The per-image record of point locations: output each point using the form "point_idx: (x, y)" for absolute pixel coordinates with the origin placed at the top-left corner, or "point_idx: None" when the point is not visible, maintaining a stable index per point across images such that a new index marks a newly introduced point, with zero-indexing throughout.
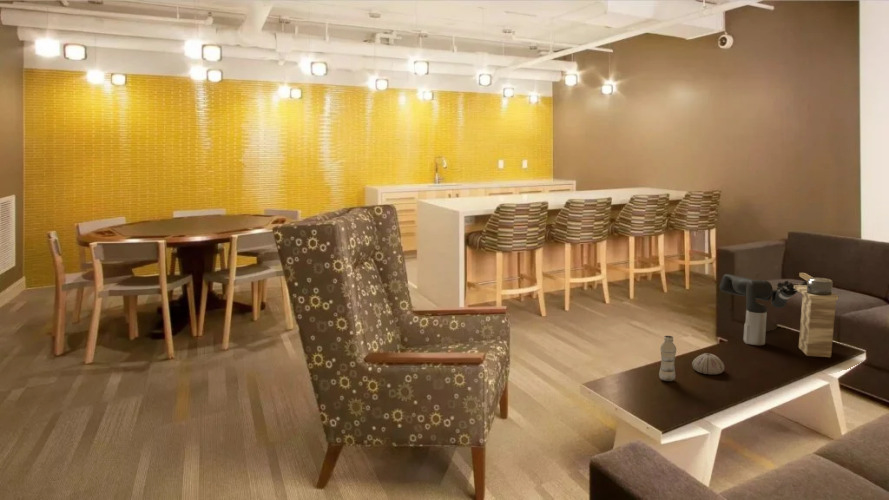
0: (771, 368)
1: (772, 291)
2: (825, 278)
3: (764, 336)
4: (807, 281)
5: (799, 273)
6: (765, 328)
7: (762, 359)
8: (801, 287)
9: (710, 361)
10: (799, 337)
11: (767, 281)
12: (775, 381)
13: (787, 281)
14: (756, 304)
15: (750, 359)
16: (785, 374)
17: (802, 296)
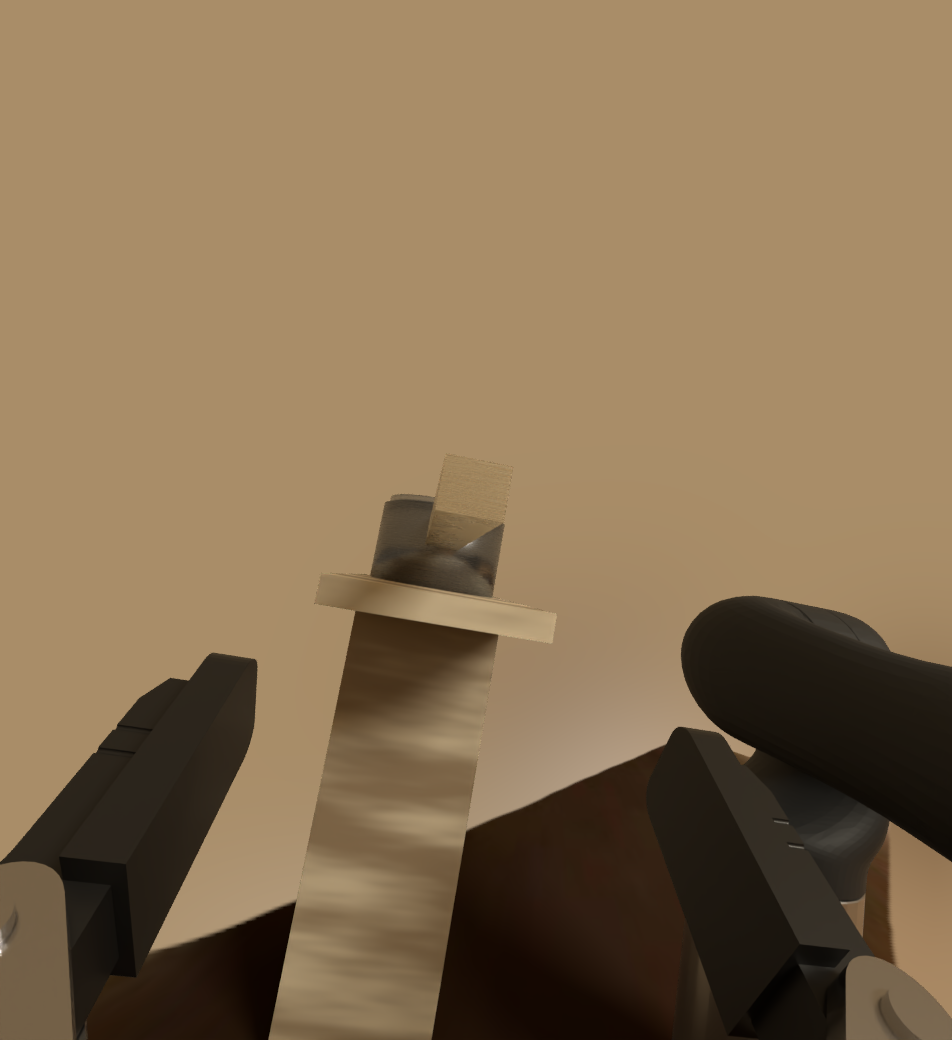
0: (577, 843)
1: (681, 653)
2: (406, 494)
3: (672, 1036)
4: (502, 533)
5: (510, 479)
6: (679, 975)
7: (617, 900)
8: (503, 602)
9: None
10: (440, 980)
11: (735, 597)
12: (561, 794)
13: (684, 739)
14: (751, 757)
15: (659, 900)
16: (537, 816)
17: (495, 649)
